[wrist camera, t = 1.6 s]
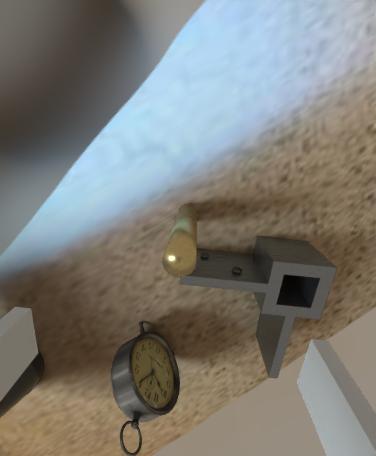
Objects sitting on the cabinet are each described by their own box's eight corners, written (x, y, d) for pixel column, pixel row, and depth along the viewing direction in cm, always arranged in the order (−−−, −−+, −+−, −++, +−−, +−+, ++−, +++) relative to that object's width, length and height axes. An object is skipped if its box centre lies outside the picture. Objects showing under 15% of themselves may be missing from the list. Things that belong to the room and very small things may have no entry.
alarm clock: (184, 354, 42) (175, 472, 27) (161, 366, 43) (140, 486, 28) (144, 313, 40) (110, 417, 24) (121, 327, 41) (74, 436, 26)
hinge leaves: (177, 325, 40) (172, 366, 33) (186, 229, 34) (182, 252, 27) (280, 336, 40) (299, 380, 32) (306, 241, 34) (337, 267, 27)
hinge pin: (177, 221, 34) (161, 274, 20) (178, 202, 33) (163, 244, 19) (196, 223, 34) (194, 278, 20) (198, 204, 33) (197, 248, 19)
